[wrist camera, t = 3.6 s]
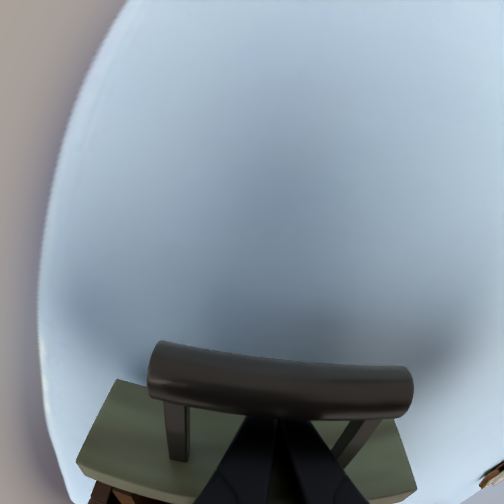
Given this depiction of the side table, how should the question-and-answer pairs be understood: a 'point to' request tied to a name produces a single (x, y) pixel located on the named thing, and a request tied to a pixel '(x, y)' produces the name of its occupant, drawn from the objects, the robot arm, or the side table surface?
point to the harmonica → (493, 477)
